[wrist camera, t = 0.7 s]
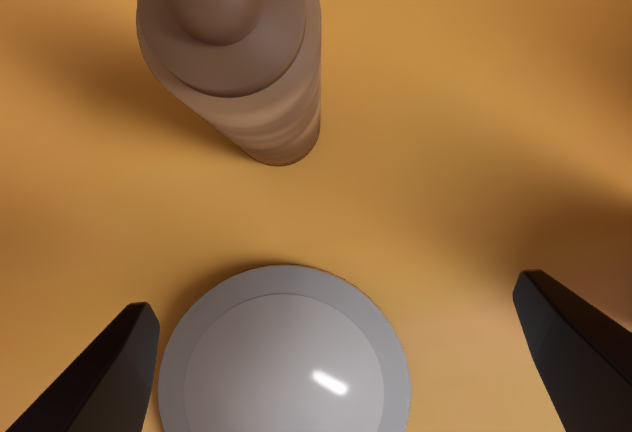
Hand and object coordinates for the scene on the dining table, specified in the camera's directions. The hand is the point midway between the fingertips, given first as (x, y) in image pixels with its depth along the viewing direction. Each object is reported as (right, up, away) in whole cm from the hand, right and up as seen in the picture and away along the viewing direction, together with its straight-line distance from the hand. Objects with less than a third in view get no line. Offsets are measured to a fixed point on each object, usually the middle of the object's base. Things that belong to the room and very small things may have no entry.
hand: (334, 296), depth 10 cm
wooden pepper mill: (-3, +7, +13) cm, 15 cm away
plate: (-2, -8, +13) cm, 16 cm away
